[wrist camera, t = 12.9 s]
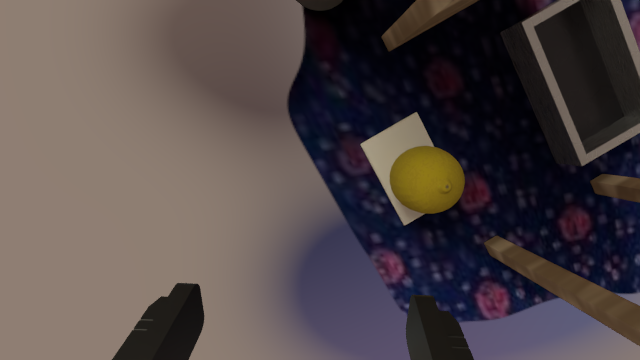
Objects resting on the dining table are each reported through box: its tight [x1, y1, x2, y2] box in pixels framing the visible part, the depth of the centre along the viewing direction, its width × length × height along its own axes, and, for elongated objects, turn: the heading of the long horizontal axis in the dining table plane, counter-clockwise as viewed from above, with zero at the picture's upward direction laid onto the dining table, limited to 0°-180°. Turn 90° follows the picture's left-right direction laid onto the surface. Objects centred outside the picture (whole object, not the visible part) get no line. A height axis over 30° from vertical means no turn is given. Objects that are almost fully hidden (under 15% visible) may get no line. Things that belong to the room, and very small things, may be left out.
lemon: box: [390, 146, 465, 214], centre depth 28 cm, size 6×6×8 cm
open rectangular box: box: [500, 0, 640, 166], centre depth 31 cm, size 14×9×3 cm, turn 30°
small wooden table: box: [381, 0, 640, 346], centre depth 21 cm, size 24×14×24 cm, turn 30°
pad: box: [360, 112, 434, 226], centre depth 32 cm, size 9×6×1 cm, turn 30°
